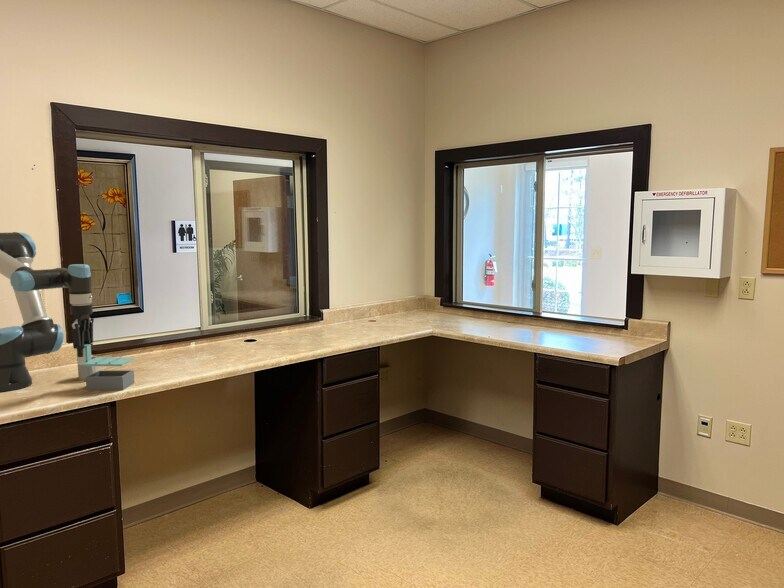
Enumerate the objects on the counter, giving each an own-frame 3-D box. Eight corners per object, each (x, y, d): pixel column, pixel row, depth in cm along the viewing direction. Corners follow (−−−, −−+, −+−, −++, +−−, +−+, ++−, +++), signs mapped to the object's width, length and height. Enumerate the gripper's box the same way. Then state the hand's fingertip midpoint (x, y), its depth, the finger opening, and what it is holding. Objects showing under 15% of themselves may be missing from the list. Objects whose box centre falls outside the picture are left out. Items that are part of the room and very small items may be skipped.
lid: (71, 366, 215) (70, 348, 215) (86, 359, 226) (85, 342, 225) (122, 366, 216) (121, 348, 215) (134, 359, 227) (133, 342, 226)
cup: (95, 376, 241) (94, 355, 240) (102, 380, 234) (101, 359, 233) (76, 379, 236) (75, 358, 235) (83, 384, 229) (82, 362, 228)
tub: (86, 392, 217) (85, 377, 216) (99, 385, 227) (98, 370, 226) (123, 392, 217) (122, 376, 217) (134, 384, 227) (133, 370, 227)
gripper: (80, 307, 210) (83, 368, 213) (101, 301, 226) (104, 358, 229) (59, 307, 210) (63, 368, 213) (82, 301, 226) (85, 358, 229)
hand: (84, 363), depth 221 cm, fingers closed on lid, 3 cm apart
